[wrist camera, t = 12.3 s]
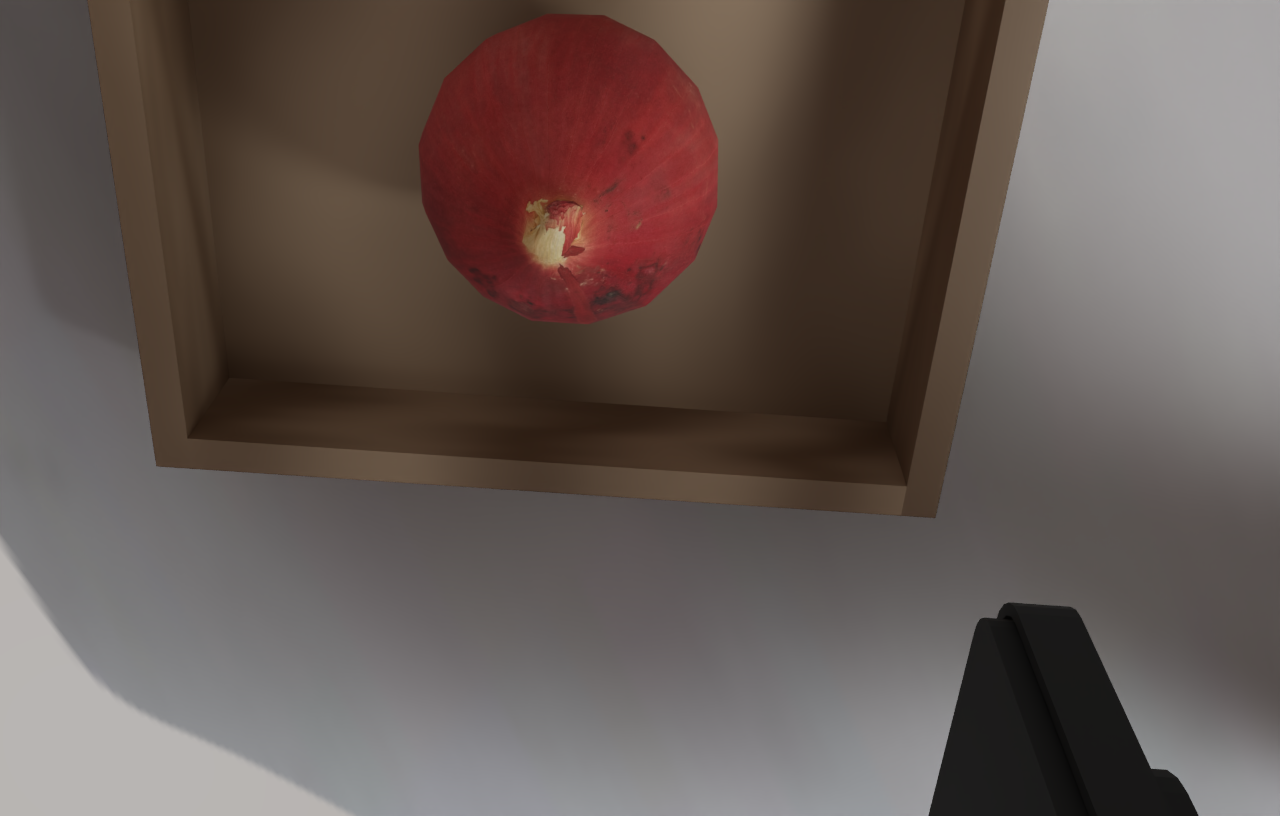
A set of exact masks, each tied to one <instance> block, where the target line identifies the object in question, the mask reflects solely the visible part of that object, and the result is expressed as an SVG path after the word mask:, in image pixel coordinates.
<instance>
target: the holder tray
mask: <svg viewBox="0 0 1280 816" xmlns="http://www.w3.org/2000/svg"><path fill="white" fill-rule="evenodd" d="M87 1H88V8H89V14H90V21H91V28H92V35H93V41H94V48H95V55H96V62H97V68H98V75H99V82H100V89H101V95H102V102H103V109H104V116H105V123H106V129H107V136H108V143H109V150H110V156H111V163H112V170H113V177H114V183H115V190H116V197H117V204H118V210H119V217H120V224H121V231H122V237H123V244H124V251H125V258H126V264H127V271H128V278H129V285H130V291H131V298H132V305H133V312H134V318H135V325H136V332H137V339H138V345H139V352H140V359H141V366H142V372H143V379H144V386H145V393H146V399H147V406H148V413H149V420H150V426H151V433H152V440H153V447H154V453H155V460H156V466H160V467H175V468H190V469H205V470H220V471H235V472H250V473H265V474H280V475H295V476H310V477H325V478H340V479H356V480H371V481H386V482H401V483H416V484H431V485H446V486H461V487H476V488H491V489H506V490H521V491H537V492H552V493H567V494H582V495H597V496H612V497H627V498H642V499H657V500H672V501H687V502H702V503H717V504H733V505H748V506H763V507H778V508H793V509H808V510H823V511H838V512H853V513H868V514H883V515H898V516H913V517H929V518H935V517H936V513H937V508H938V503H939V499H940V494H941V490H942V485H943V481H944V476H945V472H946V467H947V462H948V458H949V453H950V449H951V444H952V440H953V435H954V431H955V426H956V421H957V417H958V412H959V408H960V403H961V399H962V394H963V390H964V385H965V380H966V376H967V371H968V367H969V362H970V358H971V353H972V349H973V344H974V340H975V335H976V330H977V326H978V321H979V317H980V312H981V308H982V303H983V299H984V294H985V289H986V285H987V280H988V276H989V271H990V267H991V262H992V258H993V253H994V248H995V244H996V239H997V235H998V230H999V226H1000V221H1001V217H1002V212H1003V208H1004V203H1005V198H1006V194H1007V189H1008V185H1009V180H1010V176H1011V171H1012V167H1013V162H1014V157H1015V153H1016V148H1017V144H1018V139H1019V135H1020V130H1021V126H1022V121H1023V116H1024V112H1025V107H1026V103H1027V98H1028V94H1029V89H1030V85H1031V80H1032V75H1033V71H1034V66H1035V62H1036V57H1037V53H1038V48H1039V44H1040V39H1041V35H1042V30H1043V25H1044V21H1045V16H1046V12H1047V7H1048V3H1049V0H87ZM545 14H582V15H605V16H607V17H609V18H611V19H613V20H615V21H617V22H619V23H621V24H623V25H625V26H627V27H630V28H632V29H634V30H636V31H638V32H640V33H642V34H644V35H646V36H648V37H650V38H652V39H654V40H655V41H656V42H657V43H658V44H659V45H660V46H661V47H662V48H663V49H664V50H665V52H666V53H667V54H668V55H669V56H670V57H671V58H672V59H673V60H674V61H675V63H676V64H677V65H678V66H679V67H680V68H681V69H682V70H683V71H684V73H685V74H686V75H687V76H688V77H689V78H690V79H691V80H692V81H693V82H694V84H695V85H696V86H697V87H698V89H699V91H700V94H701V96H702V99H703V102H704V104H705V107H706V109H707V112H708V114H709V117H710V120H711V122H712V125H713V127H714V130H715V132H716V135H717V138H718V190H717V208H716V211H715V213H714V215H713V218H712V220H711V223H710V225H709V227H708V230H707V232H706V234H705V237H704V239H703V242H702V244H701V246H700V249H699V251H698V254H697V256H696V258H695V260H694V261H693V262H692V263H691V264H690V265H689V266H688V267H687V268H686V269H685V270H684V271H683V272H682V273H681V274H680V275H679V276H678V277H677V278H675V279H674V280H673V281H672V282H671V283H670V284H669V285H668V286H667V287H666V288H665V289H664V290H663V291H662V292H661V293H660V294H659V295H658V296H657V297H655V298H654V299H653V300H652V301H651V302H650V303H649V304H648V305H646V306H644V307H641V308H638V309H635V310H632V311H629V312H626V313H622V314H619V315H616V316H613V317H610V318H607V319H604V320H601V321H598V322H594V323H591V324H575V323H559V322H543V321H531V320H529V319H527V318H525V317H523V316H521V315H519V314H517V313H515V312H513V311H511V310H509V309H507V308H505V307H503V306H501V305H499V304H497V303H495V302H493V301H491V300H489V299H487V298H485V297H483V296H482V295H481V294H480V293H479V292H478V291H477V290H476V289H475V288H474V287H473V286H472V285H471V284H470V283H469V281H468V280H467V279H466V278H465V277H464V276H463V275H462V274H461V273H460V272H459V271H458V270H457V269H456V268H455V267H454V266H453V265H452V264H451V263H450V262H449V261H448V260H447V258H446V256H445V254H444V251H443V249H442V247H441V245H440V243H439V241H438V238H437V236H436V234H435V232H434V230H433V228H432V225H431V223H430V221H429V219H428V217H427V215H426V212H425V210H424V207H423V204H422V193H421V177H420V161H419V142H420V139H421V136H422V132H423V130H424V127H425V125H426V122H427V120H428V117H429V115H430V112H431V110H432V107H433V105H434V102H435V100H436V98H437V95H438V93H439V90H440V88H441V85H442V83H443V80H444V78H445V77H446V76H447V75H448V74H449V73H450V72H452V71H453V70H454V69H455V68H456V67H457V66H458V65H459V64H460V63H461V62H462V61H463V60H464V59H465V58H466V57H467V56H469V55H470V54H471V53H472V52H473V51H474V50H475V49H476V48H477V47H478V46H479V45H480V44H481V43H482V42H483V41H485V40H486V39H487V38H489V37H491V36H493V35H495V34H497V33H499V32H502V31H504V30H507V29H510V28H512V27H515V26H517V25H520V24H522V23H525V22H528V21H530V20H533V19H535V18H538V17H540V16H543V15H545Z"/></svg>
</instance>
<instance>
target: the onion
mask: <svg viewBox="0 0 1280 816" xmlns="http://www.w3.org/2000/svg"><path fill="white" fill-rule="evenodd" d="M419 161H420V177H421V193H422V204H423V207H424V210H425V212H426V215H427V217H428V219H429V221H430V223H431V225H432V228H433V230H434V232H435V234H436V236H437V238H438V241H439V243H440V245H441V247H442V249H443V251H444V254H445V256H446V258H447V260H448V261H449V262H450V263H451V264H452V265H453V266H454V267H455V268H456V269H457V270H458V271H459V272H460V273H461V274H462V275H463V276H464V277H465V278H466V279H467V280H468V281H469V283H470V284H471V285H472V286H473V287H474V288H475V289H476V290H477V291H478V292H479V293H480V294H481V295H482V296H483V297H485V298H487V299H489V300H491V301H493V302H495V303H497V304H499V305H501V306H503V307H505V308H507V309H509V310H511V311H513V312H515V313H517V314H519V315H521V316H523V317H525V318H527V319H529V320H531V321H543V322H559V323H575V324H591V323H594V322H598V321H601V320H604V319H607V318H610V317H613V316H616V315H619V314H622V313H626V312H629V311H632V310H635V309H638V308H641V307H644V306H646V305H648V304H649V303H650V302H651V301H652V300H653V299H654V298H655V297H657V296H658V295H659V294H660V293H661V292H662V291H663V290H664V289H665V288H666V287H667V286H668V285H669V284H670V283H671V282H672V281H673V280H674V279H675V278H677V277H678V276H679V275H680V274H681V273H682V272H683V271H684V270H685V269H686V268H687V267H688V266H689V265H690V264H691V263H692V262H693V261H694V260H695V258H696V256H697V254H698V251H699V249H700V246H701V244H702V242H703V239H704V237H705V234H706V232H707V230H708V227H709V225H710V223H711V220H712V218H713V215H714V213H715V211H716V208H717V190H718V138H717V135H716V132H715V130H714V127H713V125H712V122H711V120H710V117H709V114H708V112H707V109H706V107H705V104H704V102H703V99H702V96H701V94H700V91H699V89H698V87H697V86H696V85H695V84H694V82H693V81H692V80H691V79H690V78H689V77H688V76H687V75H686V74H685V73H684V71H683V70H682V69H681V68H680V67H679V66H678V65H677V64H676V63H675V61H674V60H673V59H672V58H671V57H670V56H669V55H668V54H667V53H666V52H665V50H664V49H663V48H662V47H661V46H660V45H659V44H658V43H657V42H656V41H655V40H654V39H652V38H650V37H648V36H646V35H644V34H642V33H640V32H638V31H636V30H634V29H632V28H630V27H627V26H625V25H623V24H621V23H619V22H617V21H615V20H613V19H611V18H609V17H607V16H605V15H582V14H545V15H543V16H540V17H538V18H535V19H533V20H530V21H528V22H525V23H522V24H520V25H517V26H515V27H512V28H510V29H507V30H504V31H502V32H499V33H497V34H495V35H493V36H491V37H489V38H487V39H486V40H485V41H483V42H482V43H481V44H480V45H479V46H478V47H477V48H476V49H475V50H474V51H473V52H472V53H471V54H470V55H469V56H467V57H466V58H465V59H464V60H463V61H462V62H461V63H460V64H459V65H458V66H457V67H456V68H455V69H454V70H453V71H452V72H450V73H449V74H448V75H447V76H446V77H445V78H444V80H443V83H442V85H441V88H440V90H439V93H438V95H437V98H436V100H435V102H434V105H433V107H432V110H431V112H430V115H429V117H428V120H427V122H426V125H425V127H424V130H423V132H422V136H421V139H420V142H419Z"/></svg>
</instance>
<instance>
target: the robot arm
mask: <svg viewBox="0 0 1280 816" xmlns="http://www.w3.org/2000/svg"><path fill="white" fill-rule="evenodd" d="M929 816H1198V814H1197V812H1196V809H1195V807H1194V805H1193V803H1192V801H1191V799H1190V797H1189V795H1188V793H1187V792H1186V790H1185V789H1184V787H1183V785H1182V784H1181V782H1180V781H1179V779H1178V778H1177V777H1176V776H1174V775H1173V774H1172V773H1170V772H1169V771H1168V770H1160V769H1151V768H1150V766H1149V764H1148V761H1147V759H1146V757H1145V755H1144V753H1143V751H1142V748H1141V746H1140V744H1139V742H1138V740H1137V738H1136V735H1135V733H1134V731H1133V729H1132V727H1131V725H1130V722H1129V720H1128V718H1127V716H1126V714H1125V712H1124V709H1123V707H1122V705H1121V703H1120V701H1119V699H1118V696H1117V694H1116V692H1115V690H1114V688H1113V686H1112V683H1111V681H1110V679H1109V677H1108V675H1107V673H1106V670H1105V668H1104V666H1103V664H1102V662H1101V660H1100V657H1099V655H1098V653H1097V651H1096V649H1095V647H1094V644H1093V642H1092V640H1091V638H1090V636H1089V634H1088V631H1087V629H1086V627H1085V625H1084V623H1083V621H1082V618H1081V617H1080V615H1079V614H1078V612H1077V611H1076V610H1075V609H1073V608H1071V607H1064V606H1050V605H1036V604H1022V603H1006V604H1004V605H1003V607H1002V608H1001V610H1000V611H999V614H998V617H997V619H994V618H982V619H980V620H979V622H978V623H977V626H976V629H975V632H974V636H973V640H972V644H971V648H970V652H969V656H968V660H967V664H966V668H965V672H964V676H963V680H962V684H961V688H960V692H959V696H958V700H957V704H956V708H955V712H954V716H953V720H952V724H951V728H950V732H949V736H948V740H947V744H946V748H945V752H944V756H943V760H942V764H941V768H940V772H939V776H938V780H937V784H936V788H935V792H934V796H933V800H932V804H931V808H930V812H929Z"/></svg>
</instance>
